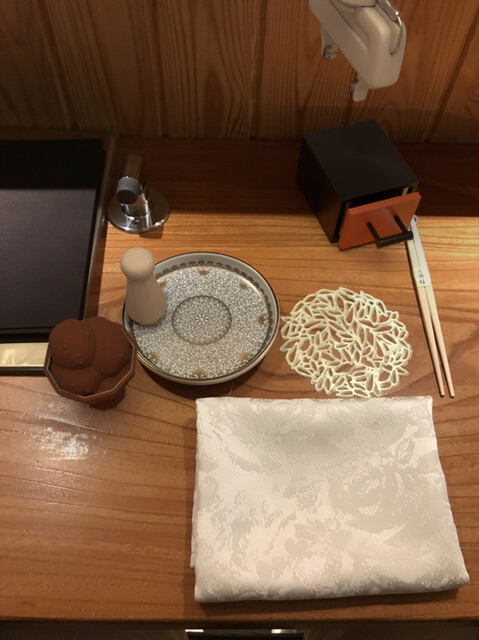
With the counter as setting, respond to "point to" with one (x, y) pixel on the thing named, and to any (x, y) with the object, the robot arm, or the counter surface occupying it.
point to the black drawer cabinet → (349, 170)
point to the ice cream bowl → (91, 361)
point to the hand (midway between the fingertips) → (342, 76)
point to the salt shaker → (142, 287)
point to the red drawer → (378, 219)
